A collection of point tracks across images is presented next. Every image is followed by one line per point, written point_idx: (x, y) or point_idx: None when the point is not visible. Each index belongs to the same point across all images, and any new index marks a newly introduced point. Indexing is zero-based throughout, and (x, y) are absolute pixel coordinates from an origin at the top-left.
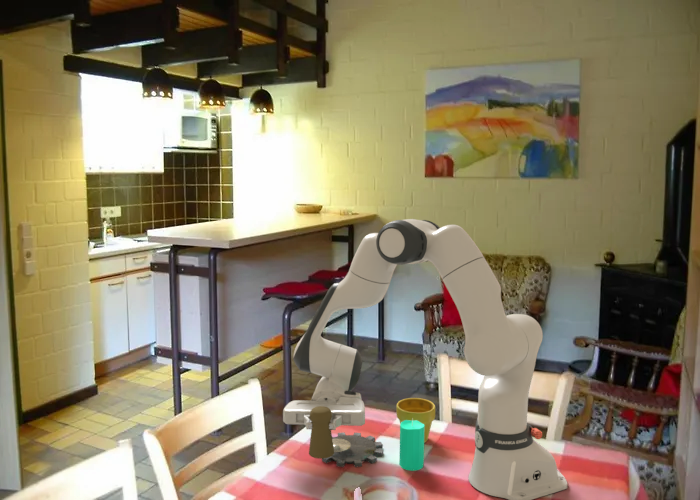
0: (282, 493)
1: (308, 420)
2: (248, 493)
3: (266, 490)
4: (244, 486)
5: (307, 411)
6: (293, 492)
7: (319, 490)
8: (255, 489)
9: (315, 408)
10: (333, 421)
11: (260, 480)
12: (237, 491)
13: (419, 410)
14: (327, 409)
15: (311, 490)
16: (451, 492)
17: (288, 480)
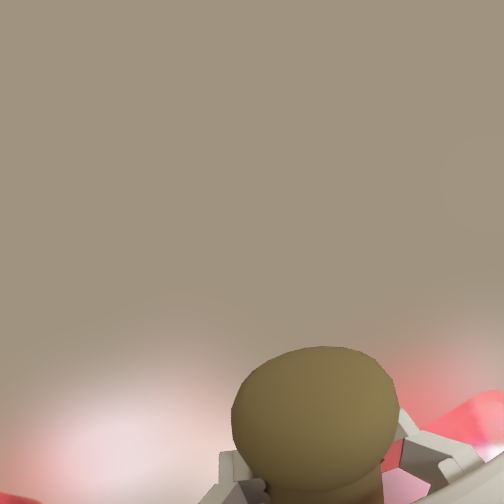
0: None
1: (404, 426)
2: (462, 407)
3: (438, 433)
4: (491, 415)
5: (480, 470)
6: None
7: None
8: (463, 422)
9: (351, 363)
10: (233, 469)
11: (484, 450)
12: (486, 398)
13: None
14: (253, 386)
15: None
16: (5, 498)
17: (419, 492)
